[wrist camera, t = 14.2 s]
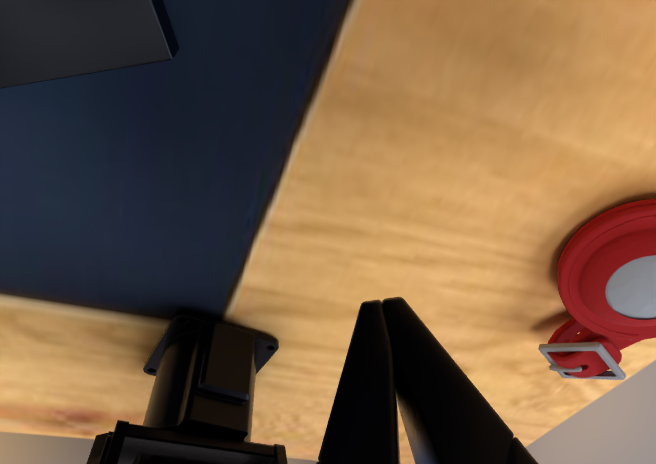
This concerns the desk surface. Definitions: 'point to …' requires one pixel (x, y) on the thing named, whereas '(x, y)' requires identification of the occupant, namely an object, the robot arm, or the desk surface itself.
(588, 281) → the tracker holder
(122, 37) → the latch bracket
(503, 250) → the desk surface
